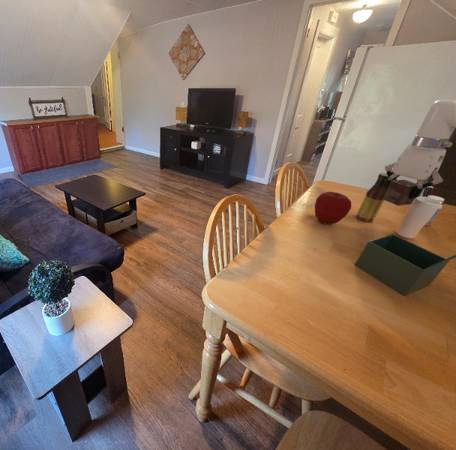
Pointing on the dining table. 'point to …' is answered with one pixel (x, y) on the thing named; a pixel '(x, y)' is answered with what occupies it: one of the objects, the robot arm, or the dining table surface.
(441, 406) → the dining table surface
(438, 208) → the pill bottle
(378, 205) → the sauce bottle
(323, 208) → the apple
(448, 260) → the flap
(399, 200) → the box
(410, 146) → the robot arm
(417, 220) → the white coffee cup
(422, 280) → the bin
